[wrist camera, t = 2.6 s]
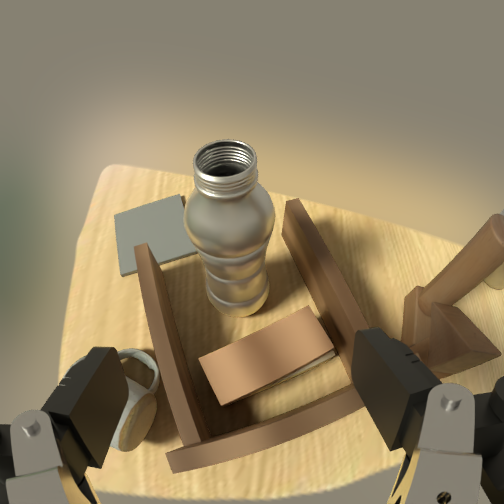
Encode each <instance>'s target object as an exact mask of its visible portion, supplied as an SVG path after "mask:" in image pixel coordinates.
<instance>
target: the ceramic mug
mask: <svg viewBox="0 0 504 504" xmlns="http://www.w3.org/2000/svg"><path fill="white" fill-rule="evenodd" d="M118 355H119V358H120V360H122V359H125V358H130V357H134V358H137V359H139V360H140V361H142V362H143V363H145V364H146V365H147V366H148V367H149V369H152V370H154V371H155V378H154V380H153V383H152V385H151V386H150V388H149V389H146V388H145V387H143V386H141V385H140V384H138V383H137V382H135V381H133V380H131V379H130V378H128V377H127V376H125V377H126V380H127V383H128V387H129V398H128V401H127V404H126V406H125V409H124V411H123V414H122V416H121V418H120V421H119V424H118V426H117V429H116V431H115V434H114V436H113V439H112V441H111V444H110V446H111V447H113V448H115V449H117V450H120V451H123V452H127V451H132V450H133V449H135V448H136V447H137V446H138V445H139V444H140V443H141V442H142V441H143V439H144V438H145V436H146V435H147V433H148V431H149V429H150V427H151V425H152V423H153V421H154V418H155V415H156V411H157V401H156V398H155V396H154V395H153V394H154V393H155V392H156V390H157V388H158V385H159V381H160V373H159V369H158V366H157V364H156V362H155V360H154V359H153V358H152V357H151V356H150V355H148V354H147V353H145V352H143V351H141V350H139V349H133V348H131V349H124V350H121V351H118ZM85 357H86V356H84V357H82V358H80V359H79V360H77V361H76V362H75V363H74V364H73V365H72V366H74V365H75V364H76V363H78V362H79V361H81V360H84V358H85ZM72 366H71V367H72ZM71 367H70V368H71ZM70 368H69V369H70ZM69 369H68V370H67V372H68V371H69ZM67 372H66V373H67ZM66 373H65V375H66ZM65 375H64V376H65ZM63 378H65V377H63ZM63 378H62V379H63Z"/></svg>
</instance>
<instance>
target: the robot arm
mask: <svg viewBox="0 0 504 504" xmlns="http://www.w3.org/2000/svg"><path fill="white" fill-rule="evenodd" d="M500 214H501V215H503V216H504V209H503V211H502V212H501V213H500ZM484 281H485V283H487V284H488V285H489V286H490V287H492V288H494V289H498V290H500V289H504V263H503V264H502V265H500V266H499V267H498V268H497V269H496V270H495V271H494V272H493V273H491V274H490V275H489V276H488V277H487V278H486V279H484ZM64 377H65V378H63V379H62V380H61V382H60V383H59V386H57V387H56V389H55V390H54V392H53V393H52V394H51V396H50V397H49V398H48V400H47V401H46V403H45V404H44V406H43V407H42V409H41V410H29V411H26V412H24V413H21V414H20V415H18V416H17V417H16V418H15V419H14V420H13V422H12V424H11V425H5V424H4V425H2V424H0V504H101V503H100V501H99V499H98V497H97V495H96V493H95V491H94V489H93V486H92V484H91V482H90V480H89V478H88V476H87V474H86V473H85V471H86V469H87V466H90V467H94V468H99V469H101V468H102V465H103V463H104V460H105V457H106V455H107V452H108V449H109V447H110V444H111V441H112V439H113V436H114V434H115V431H116V429H117V426H118V424H119V421H120V418H121V416H122V414H123V411H124V409H125V406H126V404H127V401H128V398H129V387H128V383H127V380H126V377H125V374H124V371H123V368H122V365H121V361H120V358H119V355H118V352H117V350H116V349H115V348H114V347H93V348H92V349H91V350H90V352H89V353H88V354H87V356H86V357H85V358H84V360H81V361H79V362H78V363H76V364H75V365H74V366H72V367H71V368H70V369H69V371H68V372H67V373H66V375H65V376H64ZM351 377H352V381H353V384H354V386H355V388H356V390H357V392H358V394H359V395H360V397H361V399H362V401H363V403H364V404H365V406H366V408H367V410H368V412H369V413H370V415H371V417H372V419H373V421H374V423H375V424H376V426H377V428H378V430H379V432H380V434H381V435H382V437H383V439H384V441H385V443H386V445H387V447H388V448H389V450H390V451H393V450H396V449H399V448H402V447H403V448H404V450H405V452H406V453H405V455H404V458H403V460H402V464H401V467H400V470H399V472H398V475H397V478H396V481H395V484H394V486H393V489H392V492H391V494H390V497H389V499H388V502H387V504H477V503H478V496H479V489H480V485H481V486H482V488H483V490H484V492H485V493H486V495H487V497H488V499H489V500H490V502H491V504H504V376H503V377H501V378H500V379H498V381H497V382H496V384H495V387H494V389H493V391H492V392H489V393H483V394H477V395H473V394H472V393H471V392H470V391H469V390H468V389H467V388H465V387H463V386H461V385H458V384H454V383H445V384H443V383H442V382H441V381H440V380H439V379H438V378H437V377H436V376H435V375H434V374H433V373H432V371H431V370H430V369H429V368H428V367H427V366H426V365H425V364H424V363H423V362H422V361H420V359H419V358H418V357H417V356H416V355H415V354H414V352H413V351H412V350H411V349H410V348H409V347H408V346H407V345H406V344H404V343H402V342H400V341H398V340H396V339H394V338H392V339H390V338H389V337H388V336H387V335H386V334H385V333H384V332H383V331H382V330H381V329H380V328H379V327H374V328H368V329H362V330H357V331H356V333H355V338H354V348H353V357H352V365H351Z"/></svg>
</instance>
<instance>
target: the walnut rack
mask: <svg viewBox="0 0 504 504" xmlns="http://www.w3.org/2000/svg"><path fill="white" fill-rule="evenodd" d="M282 237H283V239H284V241H285V243H286V245H287V247H288V249H289V251H290V253H291V255H292V257H293V259H294V261H295V263H296V265H297V267H298V269H299V271H300V273H301V275H302V277H303V279H304V282H305V284H306V286H307V288H308V290H309V292H310V294H311V296H312V298H313V300H314V302H315V304H316V307H317V309H318V311H319V313H320V315H321V317H322V319H323V321H324V324H325V326H326V328H327V330H328V332H329V334H330V336H331V339H332V341H333V343H334V345H335V347H336V350H337V352H338V354H339V356H340V358H341V361H342V363H343V365H344V367H345V369H346V372H347V374H348V376H349V378H350V381H351V383H352V384H350V385H348V386H346V387H344V388H342V389H340V390H338V391H336V392H333V393H331V394H329V395H327V396H325V397H322V398H320V399H318V400H316V401H313V402H311V403H308V404H306V405H304V406H301V407H299V408H296V409H294V410H291V411H289V412H286V413H283V414H281V415H278V416H275V417H273V418H270V419H267V420H264V421H262V422H259V423H256V424H253V425H250V426H247V427H244V428H240V429H237V430H234V431H231V432H227V433H224V434H220V435H217V436H213V437H212V436H211V434H210V431H209V428H208V426H207V423H206V420H205V417H204V415H203V412H202V409H201V406H200V403H199V400H198V397H197V394H196V391H195V388H194V385H193V382H192V379H191V376H190V372H189V369H188V366H187V363H186V359H185V356H184V353H183V349H182V346H181V342H180V339H179V335H178V332H177V328H176V324H175V321H174V317H173V313H172V309H171V305H170V301H169V297H168V293H167V289H166V285H165V281H164V277H163V272H162V270H161V268H160V266H159V265H158V263H157V261H156V259H155V257H154V255H153V253H152V251H151V249H150V248H149V246H148V244H147V242H146V243H143V244H140V245H137V246H134V253H135V259H136V265H137V271H138V276H139V282H140V287H141V293H142V298H143V303H144V307H145V312H146V317H147V321H148V326H149V330H150V334H151V339H152V343H153V347H154V351H155V355H156V358H157V362H158V366H159V370H160V373H161V377H162V380H163V384H164V387H165V391H166V394H167V397H168V401H169V404H170V407H171V410H172V413H173V416H174V419H175V422H176V425H177V428H178V431H179V434H180V437H181V440H182V443H183V445H184V446H183V447H181V448H178V449H175V450H173V451H170V452H167V453H165V454H166V457H167V459H168V462H169V465H170V467H171V470H172V472H173V474H174V473H179V472H184V471H189V470H194V469H198V468H202V467H207V466H211V465H215V464H218V463H222V462H226V461H229V460H233V459H236V458H240V457H243V456H246V455H250V454H253V453H256V452H259V451H262V450H265V449H268V448H271V447H273V446H276V445H279V444H282V443H284V442H287V441H290V440H292V439H295V438H297V437H300V436H302V435H305V434H307V433H309V432H312V431H314V430H316V429H319V428H321V427H323V426H325V425H328V424H330V423H332V422H334V421H336V420H338V419H340V418H343V417H345V416H347V415H349V414H351V413H353V412H355V411H357V410H359V409H360V408H362V407H364V406H365V404H364V403H363V401H362V399H361V397H360V395H359V394H358V392H357V390H356V388H355V386H354V384H353V381H352V377H351V365H352V357H353V348H354V338H355V333H356V331H357V330H362V329H368V328H369V326H368V324H367V322H366V320H365V318H364V316H363V314H362V312H361V310H360V308H359V306H358V304H357V302H356V300H355V298H354V296H353V295H352V293H351V291H350V289H349V287H348V285H347V283H346V281H345V279H344V277H343V276H342V274H341V272H340V270H339V268H338V266H337V265H336V263H335V261H334V259H333V257H332V255H331V254H330V252H329V250H328V248H327V246H326V245H325V243H324V241H323V239H322V238H321V236H320V234H319V232H318V231H317V229H316V227H315V225H314V224H313V222H312V220H311V218H310V217H309V215H308V213H307V212H306V210H305V208H304V207H303V205H302V203H301V202H300V200H299V198H297V199H293V200H289V201H286V206H285V213H284V221H283V228H282ZM415 355H416V356H417V357H418V358H419V359H420V356H419V354H418V353H416V354H415ZM420 361H421V359H420Z"/></svg>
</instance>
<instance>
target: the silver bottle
mask: <svg viewBox="0 0 504 504" xmlns="http://www.w3.org/2000/svg"><path fill="white" fill-rule="evenodd" d="M193 167H194V172H195V174H194V182H195V189H194V190H193V192H192V193H191V195H190V196H189V198H188V199H187V202H186V204H185V209H184V217H183V222H184V228H185V230H186V232H187V234H188V237H189V239H190V241H191V242H192V244H193V245H194V247H195V249H196V250H197V252H198V253H199V255H200V257H201V259H202V261H203V264H204V266H205V270H206V292H207V296H208V298H209V301H210V302H211V303H212V305H213V306H214V307H215V308H216V309H217V310H218V311H220V312H221V313H223V314H225V315H227V316H230V317H245V316H249V315H251V314H253V313H255V312H256V311H258V310H259V309H260V308H261V307H262V305H263V304H264V302H265V301H266V299H267V297H268V294H269V289H270V283H269V278H268V274H267V271H266V267H265V256H266V249H267V246H268V243H269V240H270V237H271V234H272V231H273V227H274V222H275V208H274V206H273V203H272V201H271V198H270V195H269V194H268V193H267V191H266V190H265V189H264V188H263V187H262V186H261V185H260V184H259V183H258V182H257V181H258V170H257V157H256V153H255V151H254V149H253V148H252V147H251V146H249V145H248V144H246V143H244V142H241V141H237V140H229V139H227V140H218V141H215V142H211V143H209V144H206V145H205V146H203V147H202V148H200V149H199V150H198V151H197V153H196V154H195V156H194V160H193Z"/></svg>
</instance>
